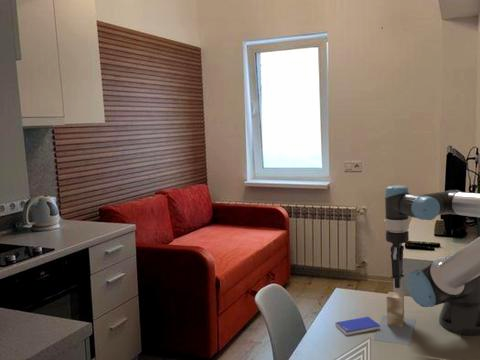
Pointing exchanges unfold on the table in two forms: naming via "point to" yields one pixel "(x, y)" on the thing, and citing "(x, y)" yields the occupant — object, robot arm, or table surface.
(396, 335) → the slate mat
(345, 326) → the hard drive
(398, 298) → the birch block
